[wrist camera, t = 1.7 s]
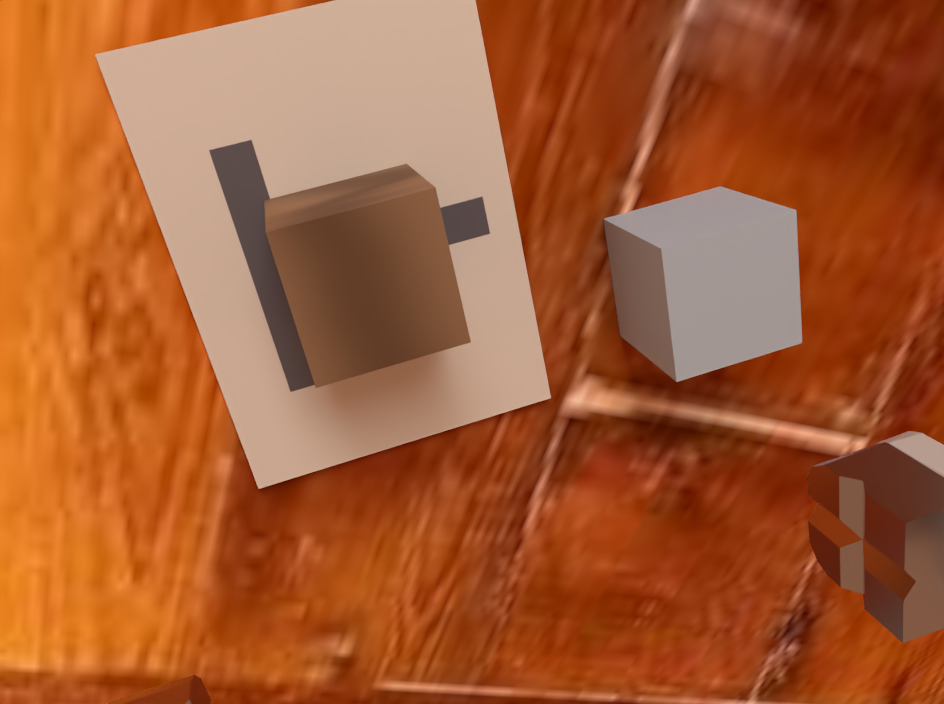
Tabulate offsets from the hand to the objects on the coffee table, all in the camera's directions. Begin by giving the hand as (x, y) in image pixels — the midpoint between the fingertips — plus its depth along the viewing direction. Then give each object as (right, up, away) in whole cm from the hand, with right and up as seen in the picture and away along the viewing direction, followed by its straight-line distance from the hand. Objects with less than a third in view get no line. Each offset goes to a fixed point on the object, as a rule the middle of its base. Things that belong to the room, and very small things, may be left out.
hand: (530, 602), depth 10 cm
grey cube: (+7, +7, +22) cm, 24 cm away
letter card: (-5, +7, +19) cm, 21 cm away
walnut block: (-5, +7, +18) cm, 20 cm away
